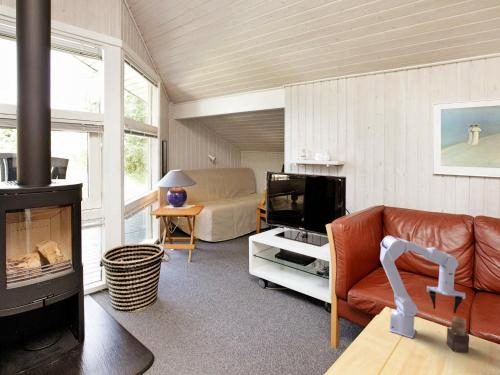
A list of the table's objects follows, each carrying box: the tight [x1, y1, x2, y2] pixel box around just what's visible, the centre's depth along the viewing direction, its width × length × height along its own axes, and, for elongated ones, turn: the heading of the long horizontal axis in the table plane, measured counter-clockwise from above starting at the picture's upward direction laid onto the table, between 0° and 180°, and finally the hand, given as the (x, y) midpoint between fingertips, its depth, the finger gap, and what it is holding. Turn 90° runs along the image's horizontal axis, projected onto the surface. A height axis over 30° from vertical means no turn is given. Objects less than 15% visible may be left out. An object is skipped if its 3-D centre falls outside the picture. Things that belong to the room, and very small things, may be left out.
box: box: [446, 326, 470, 354], centre depth 129 cm, size 6×6×7 cm
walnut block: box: [450, 315, 467, 336], centre depth 129 cm, size 4×4×5 cm
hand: (444, 310), depth 141 cm, fingers open, 7 cm apart
